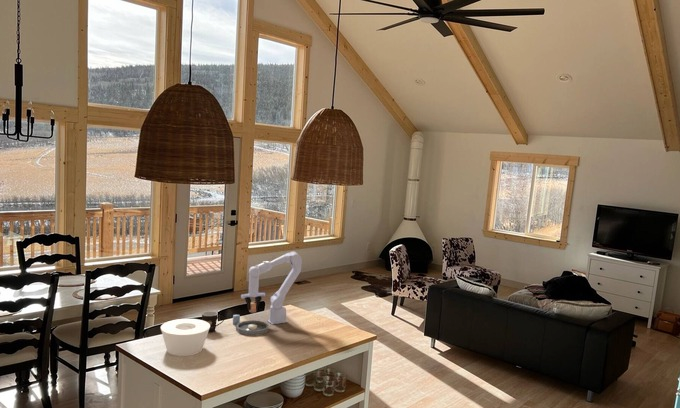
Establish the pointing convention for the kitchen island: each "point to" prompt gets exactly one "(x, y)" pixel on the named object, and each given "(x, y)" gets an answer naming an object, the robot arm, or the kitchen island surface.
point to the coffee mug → (211, 319)
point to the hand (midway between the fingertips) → (252, 309)
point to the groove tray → (252, 327)
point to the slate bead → (236, 319)
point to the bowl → (185, 336)
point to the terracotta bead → (252, 307)
